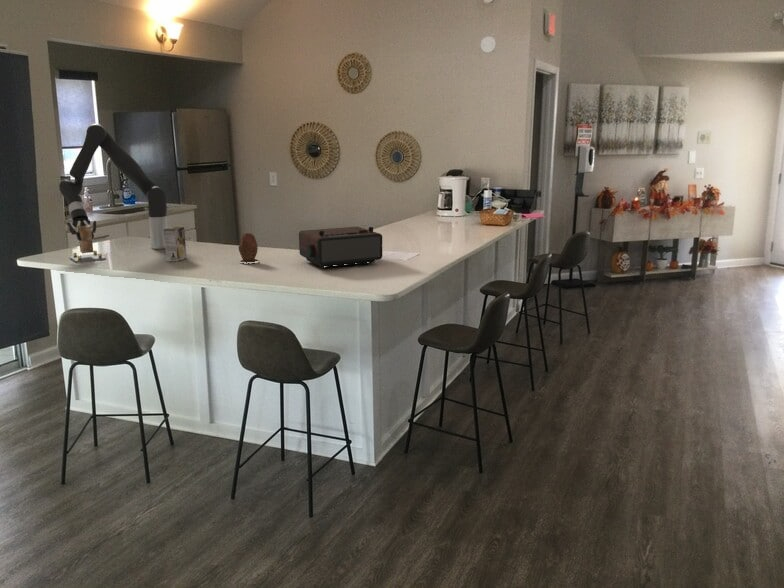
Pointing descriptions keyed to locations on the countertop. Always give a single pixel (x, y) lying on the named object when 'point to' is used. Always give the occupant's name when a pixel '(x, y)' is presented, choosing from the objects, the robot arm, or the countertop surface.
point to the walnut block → (85, 239)
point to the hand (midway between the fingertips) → (86, 239)
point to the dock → (87, 257)
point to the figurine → (248, 248)
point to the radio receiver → (340, 246)
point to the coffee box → (175, 243)
